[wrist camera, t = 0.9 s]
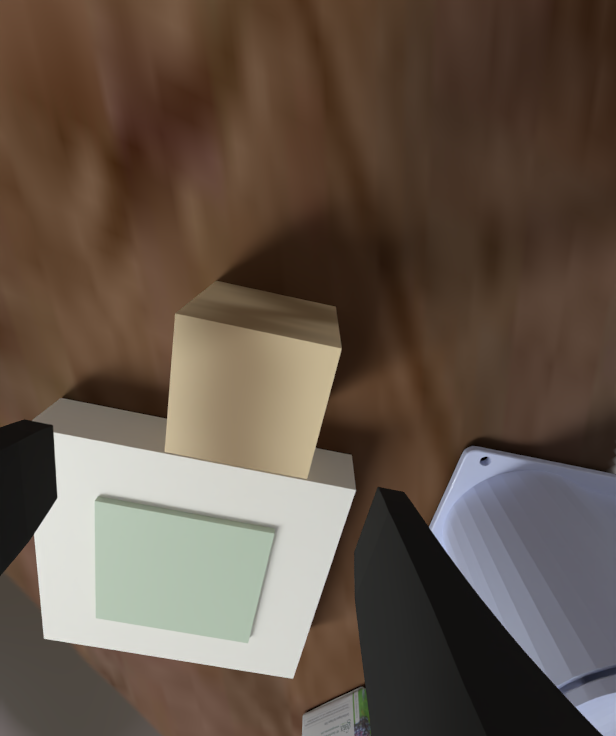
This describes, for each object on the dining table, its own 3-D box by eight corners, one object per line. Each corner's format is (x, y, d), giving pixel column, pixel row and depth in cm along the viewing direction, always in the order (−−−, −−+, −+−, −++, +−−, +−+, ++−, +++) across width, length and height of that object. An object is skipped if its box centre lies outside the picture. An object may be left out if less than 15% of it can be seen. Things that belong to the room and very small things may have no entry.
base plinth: (351, 454, 19) (356, 494, 17) (295, 634, 25) (292, 684, 22) (61, 398, 18) (18, 430, 16) (70, 596, 24) (40, 644, 21)
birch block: (335, 306, 16) (341, 348, 12) (310, 408, 18) (307, 479, 14) (216, 280, 16) (175, 313, 11) (204, 387, 18) (164, 452, 13)
